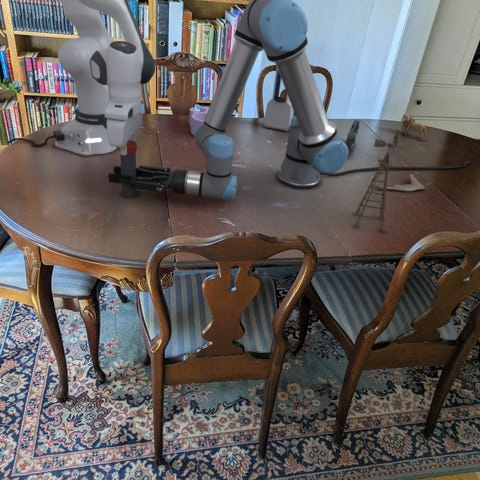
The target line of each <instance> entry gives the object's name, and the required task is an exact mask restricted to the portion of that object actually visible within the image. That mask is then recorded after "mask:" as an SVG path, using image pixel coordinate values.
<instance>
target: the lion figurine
mask: <svg viewBox="0 0 480 480" xmlns="http://www.w3.org/2000/svg"><path fill="white" fill-rule="evenodd" d="M400 121H401V124H402V125H403V127H404V128H406V132H404V135H405V136H407V135H409V134H410V132H411V131H415V132H416V131H417V132H418V134H419V135H417V138H419V141H423V140H424V139H425V140H427V141H428V140H429V138H428V137H426V134H427V133H426V132H427V131H426V125H425V124H423V123H419V122H416V121H415V118H414V117H412V116H411V115H410V114H407V113H405V114H403V115H402V118H401V119H400ZM407 133H408V134H407ZM420 136H421V137H420ZM421 138H422V139H421Z"/></svg>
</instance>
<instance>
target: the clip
mask: <svg viewBox="0 0 480 480" xmlns="http://www.w3.org/2000/svg"><path fill="white" fill-rule="evenodd" d="M208 110H209V108H206V107H203V106H200V107H199V111H196V108H195V107H190V108H189V118H188V119H189V120H188V121H189V122H188V125H189V127H190V134H191V135H193V136H194V137H195V131H196V129H197V128H198V127H199V126H200V125H201V124H203V122H204V120H205V117H206V115H207V112H208Z"/></svg>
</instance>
